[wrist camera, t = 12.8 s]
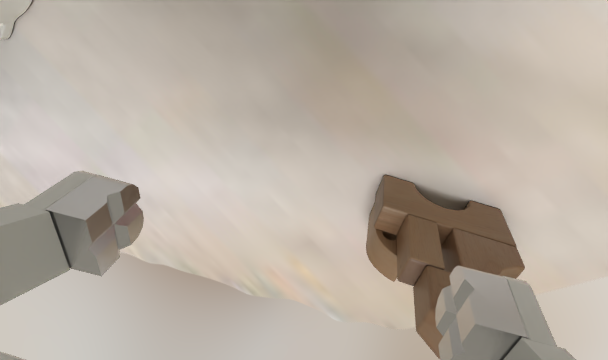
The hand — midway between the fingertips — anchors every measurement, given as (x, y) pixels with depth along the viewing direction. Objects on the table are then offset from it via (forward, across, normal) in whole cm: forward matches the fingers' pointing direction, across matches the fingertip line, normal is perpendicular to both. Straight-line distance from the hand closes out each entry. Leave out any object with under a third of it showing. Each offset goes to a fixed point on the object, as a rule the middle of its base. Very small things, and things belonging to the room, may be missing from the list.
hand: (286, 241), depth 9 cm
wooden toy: (+29, -13, +18) cm, 37 cm away
